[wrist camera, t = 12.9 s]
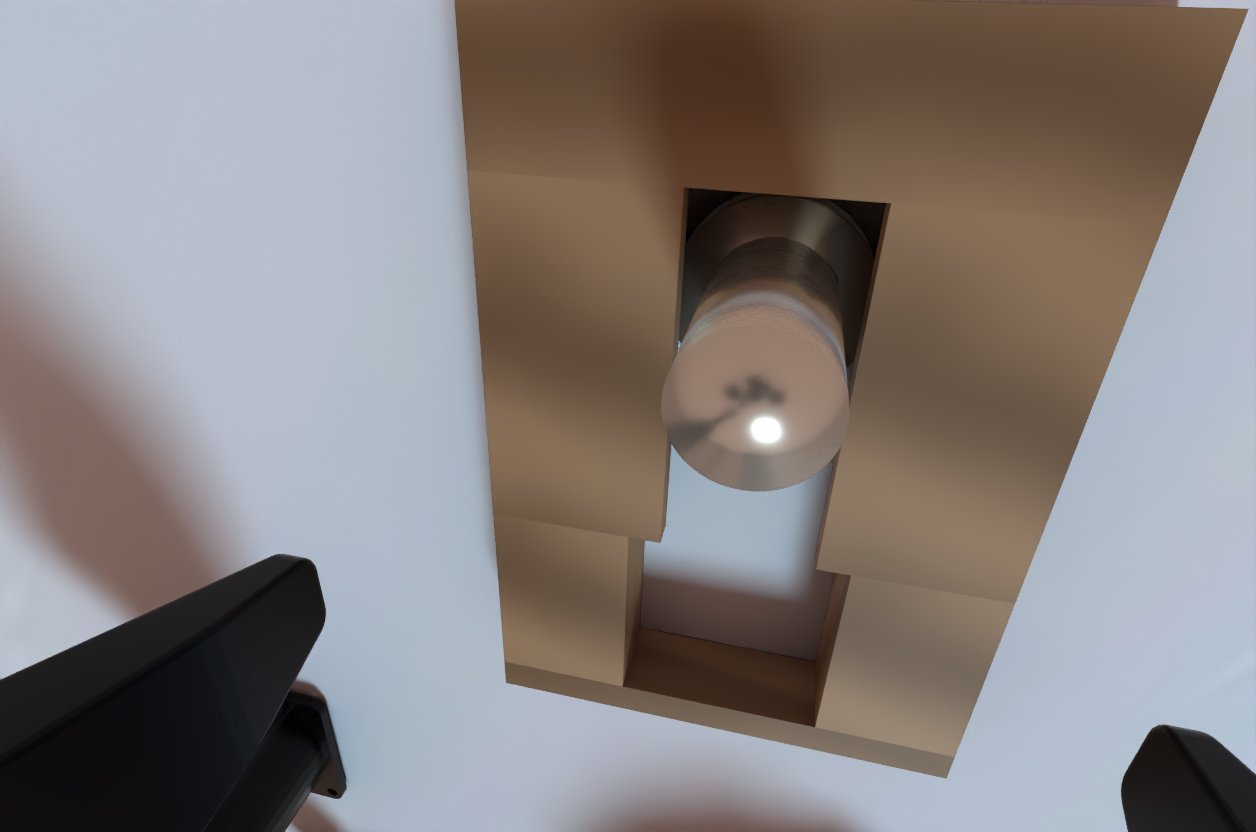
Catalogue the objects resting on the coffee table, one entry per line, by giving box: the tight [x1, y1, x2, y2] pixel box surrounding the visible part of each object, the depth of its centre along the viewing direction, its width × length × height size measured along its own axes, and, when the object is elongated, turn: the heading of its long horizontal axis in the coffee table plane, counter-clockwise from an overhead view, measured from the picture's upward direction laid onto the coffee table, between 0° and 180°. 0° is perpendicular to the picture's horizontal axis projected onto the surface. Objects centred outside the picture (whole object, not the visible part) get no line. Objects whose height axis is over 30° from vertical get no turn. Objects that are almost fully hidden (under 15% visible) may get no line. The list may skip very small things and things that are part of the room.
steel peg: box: [661, 192, 874, 491], centre depth 15 cm, size 5×5×7 cm
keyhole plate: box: [455, 0, 1248, 778], centre depth 19 cm, size 20×14×3 cm
